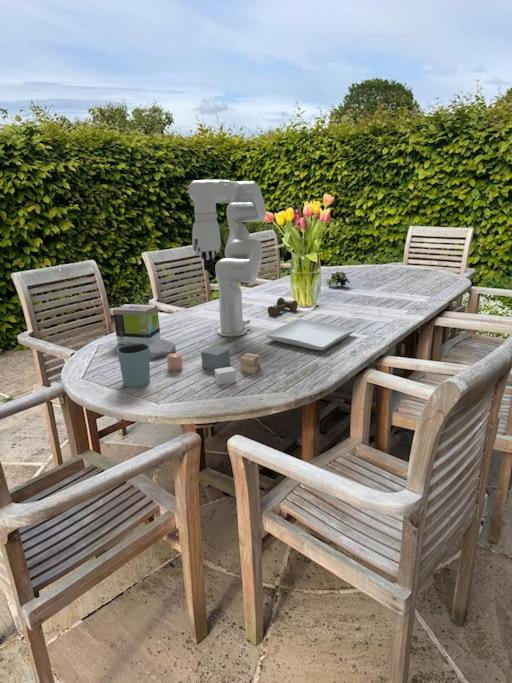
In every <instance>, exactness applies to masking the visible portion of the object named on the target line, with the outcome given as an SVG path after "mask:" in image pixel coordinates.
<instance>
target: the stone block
mask: <svg viewBox="0 0 512 683" xmlns="http://www.w3.org/2000/svg"><path fill="white" fill-rule="evenodd" d="M149 347H150V354H149V357H150V359H149V360H155V359H159V358H162V357H167V355H169V354H172V353H174V352H175V353H176V349H177V348H176V345H175V344H174V342H171V341H169V340H168V339H161V338H160V339H158V340H155V341H153V342H151V343H150V344H149Z"/></svg>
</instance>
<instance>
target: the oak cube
mask: <svg viewBox="0 0 512 683" xmlns="http://www.w3.org/2000/svg"><path fill="white" fill-rule="evenodd" d="M239 362H240V363H239V364H240V366H239V367H240V372H244V373H250V374H255V373H257V371H259V370H260V369H261V355H260V354H255V353H248V352H246V353H245V354H244V355H241V357H240V358H239Z"/></svg>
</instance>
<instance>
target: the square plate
mask: <svg viewBox="0 0 512 683" xmlns="http://www.w3.org/2000/svg"><path fill="white" fill-rule="evenodd" d="M355 331H356V329H355V328H353V327H352V328H351V327H348V326H347V327H346V326H343V325H337V324H332V323H329V322H322V321H317V320H311V319H310V320H309V319H304V318H298V319H296V320H293V321H291V322H288V323H286V324H283V325H281V326H279V327H277V328H275V329H273V330H270V331H268V332H267V333H265V334H264V336H265V337H267V339H270V340H272V341H275V342H280V343H282V344H286V345H292V346H295V347H299V348H303V349H304V348H305V349H308V350H317V351H324V350H326V349H327V348H329V347H330V346H333V345H335V344H336V343H338V342H340V341H341V340H344V339H346V338H347V337H349V336H351V335H352V334H353V333H354V332H355Z"/></svg>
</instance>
